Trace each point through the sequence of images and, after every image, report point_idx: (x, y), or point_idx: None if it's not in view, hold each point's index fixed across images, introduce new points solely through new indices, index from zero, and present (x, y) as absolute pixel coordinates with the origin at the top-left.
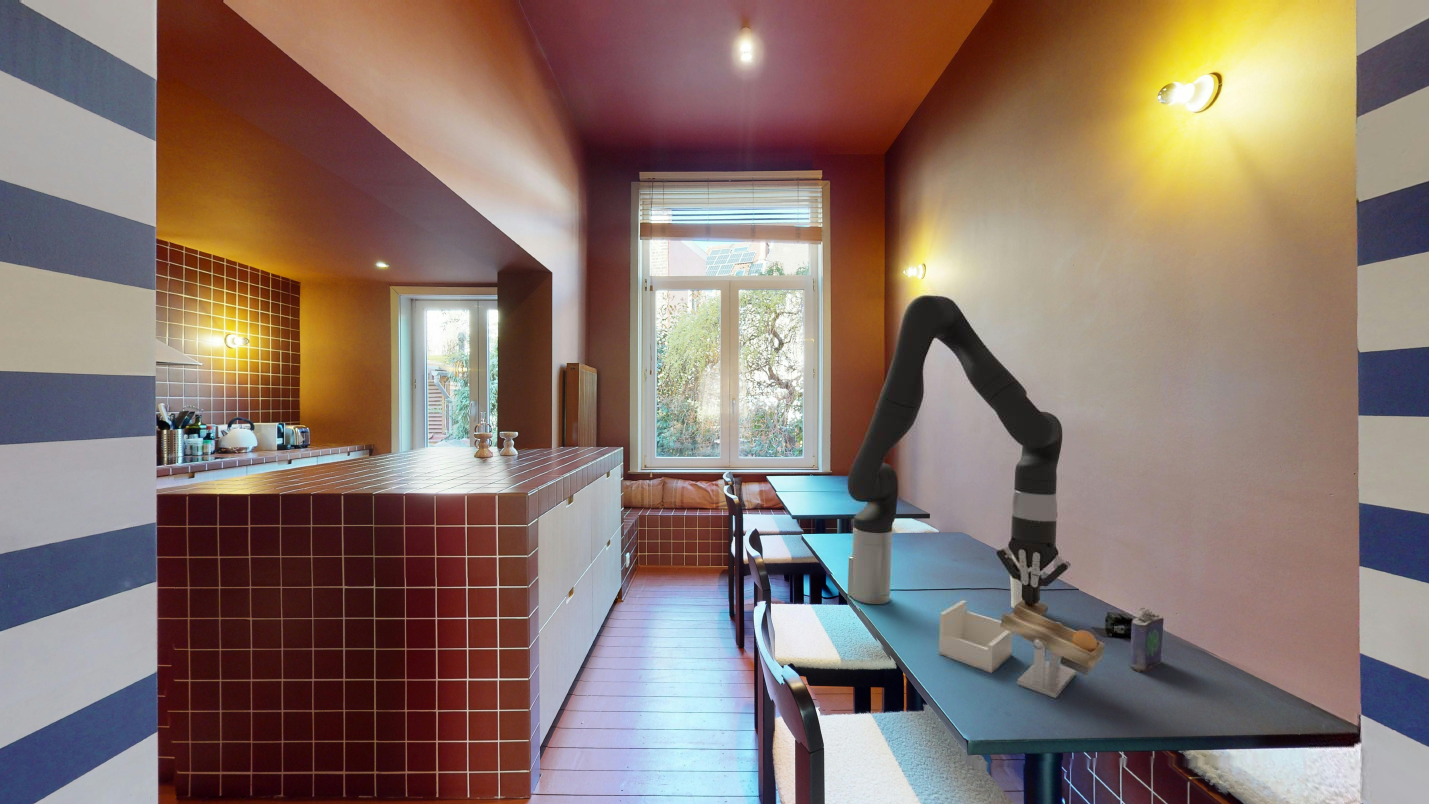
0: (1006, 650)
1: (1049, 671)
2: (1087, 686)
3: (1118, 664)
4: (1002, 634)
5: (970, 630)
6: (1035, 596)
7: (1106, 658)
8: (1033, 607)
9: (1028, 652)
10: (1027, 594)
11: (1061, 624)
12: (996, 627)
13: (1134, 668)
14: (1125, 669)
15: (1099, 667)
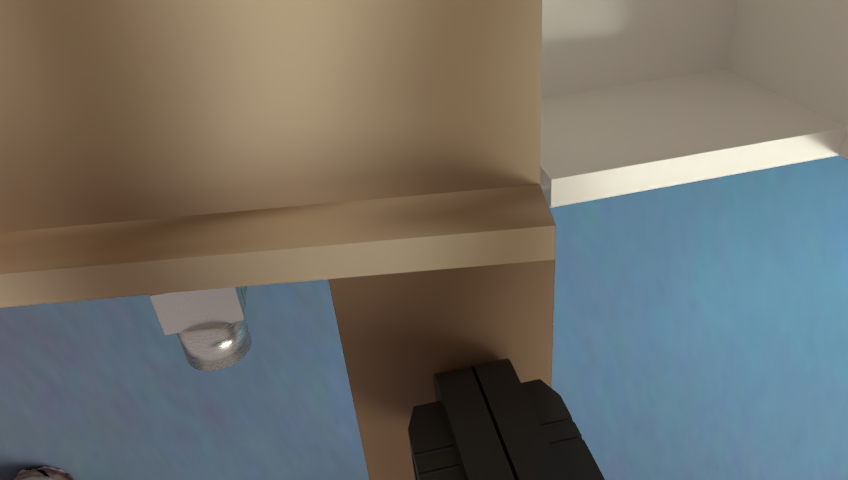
0: None
1: None
2: None
3: (112, 460)
4: None
5: (723, 92)
6: (438, 461)
7: (175, 467)
8: (429, 371)
9: None
10: (515, 434)
11: (192, 363)
12: (603, 147)
13: (35, 472)
14: (63, 444)
15: (133, 371)
